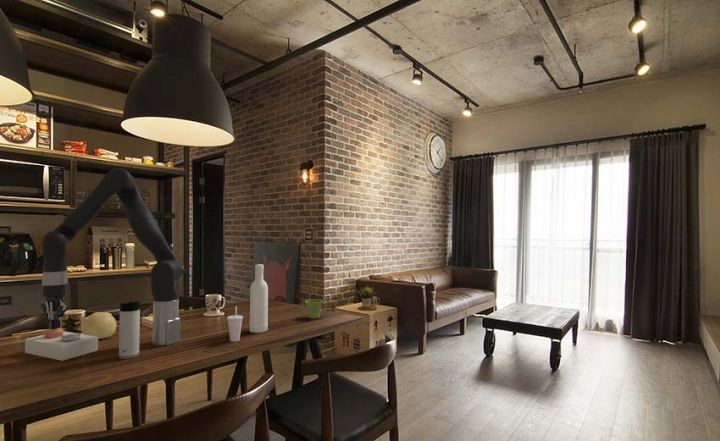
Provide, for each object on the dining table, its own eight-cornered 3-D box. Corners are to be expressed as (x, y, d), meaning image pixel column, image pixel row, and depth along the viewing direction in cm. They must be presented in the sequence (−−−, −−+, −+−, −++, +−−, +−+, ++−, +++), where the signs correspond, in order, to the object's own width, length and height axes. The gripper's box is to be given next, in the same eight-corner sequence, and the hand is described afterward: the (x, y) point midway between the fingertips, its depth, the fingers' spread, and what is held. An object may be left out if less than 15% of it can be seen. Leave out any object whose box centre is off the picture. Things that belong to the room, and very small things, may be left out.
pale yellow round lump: (105, 332, 163) (105, 308, 164) (121, 336, 158) (122, 311, 158) (76, 339, 153) (76, 313, 153) (92, 343, 148) (93, 316, 148)
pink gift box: (66, 344, 142) (66, 329, 142) (49, 348, 136) (50, 332, 136) (57, 342, 144) (57, 327, 144) (40, 347, 138) (40, 331, 138)
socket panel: (97, 350, 140) (98, 337, 140) (62, 360, 128) (62, 346, 129) (61, 343, 148) (61, 330, 148) (24, 352, 136) (25, 339, 137)
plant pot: (302, 319, 190) (302, 302, 190) (307, 315, 199) (308, 298, 199) (320, 319, 188) (320, 302, 189) (324, 315, 198) (324, 299, 198)
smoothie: (246, 339, 155) (246, 305, 155) (235, 343, 149) (235, 308, 149) (234, 337, 157) (234, 304, 158) (223, 341, 152) (223, 307, 152)
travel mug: (124, 360, 129) (125, 303, 129) (115, 357, 132) (116, 301, 133) (143, 355, 134) (144, 300, 135) (133, 352, 138) (134, 298, 138)
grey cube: (83, 350, 138) (83, 334, 138) (66, 355, 133) (67, 338, 133) (73, 348, 140) (74, 333, 140) (57, 353, 135) (57, 337, 135)
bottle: (261, 333, 163) (261, 265, 164) (246, 332, 166) (246, 265, 166) (271, 329, 171) (271, 264, 171) (256, 327, 173) (257, 263, 174)
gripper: (77, 282, 142) (76, 328, 141) (55, 281, 146) (54, 324, 146) (54, 285, 135) (53, 333, 134) (32, 283, 139) (31, 329, 139)
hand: (54, 328), depth 140 cm, fingers closed
